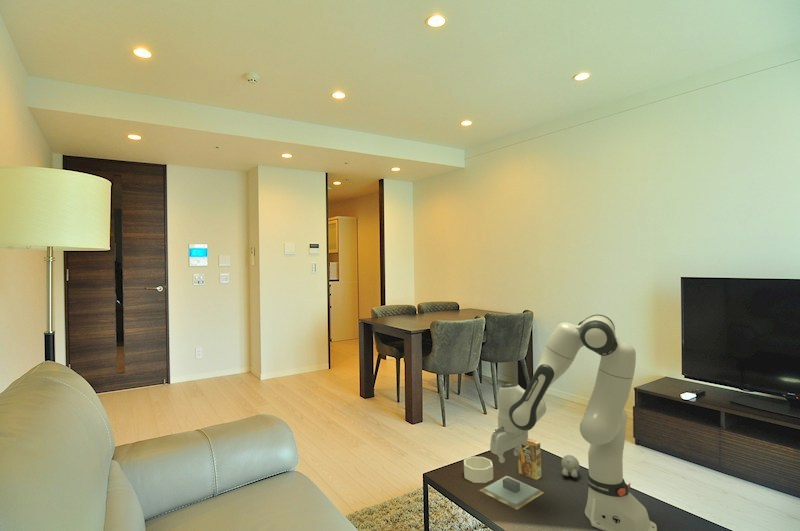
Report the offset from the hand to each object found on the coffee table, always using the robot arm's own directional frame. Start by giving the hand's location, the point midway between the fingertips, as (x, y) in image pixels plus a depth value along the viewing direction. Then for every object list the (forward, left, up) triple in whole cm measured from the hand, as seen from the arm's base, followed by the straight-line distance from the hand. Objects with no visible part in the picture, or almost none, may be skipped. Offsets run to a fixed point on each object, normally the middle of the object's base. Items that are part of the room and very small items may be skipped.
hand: (509, 458), depth 168 cm
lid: (0, 0, -13) cm, 13 cm away
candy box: (+3, -17, -14) cm, 22 cm away
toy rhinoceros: (-8, -31, -14) cm, 35 cm away
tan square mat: (0, 0, -13) cm, 13 cm away
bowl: (+17, 0, -13) cm, 21 cm away
